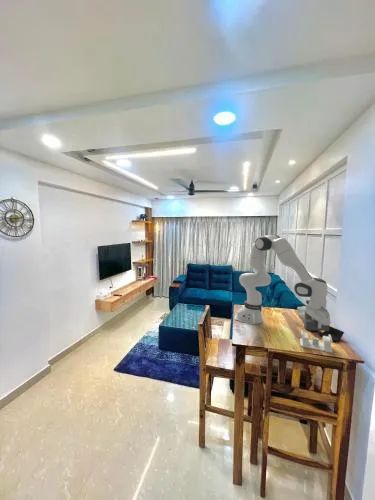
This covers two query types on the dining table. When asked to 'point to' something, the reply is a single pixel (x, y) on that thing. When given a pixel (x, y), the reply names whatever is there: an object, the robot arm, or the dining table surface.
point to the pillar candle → (308, 317)
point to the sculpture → (302, 311)
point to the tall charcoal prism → (315, 325)
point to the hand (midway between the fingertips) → (316, 326)
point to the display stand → (316, 342)
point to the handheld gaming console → (333, 333)
